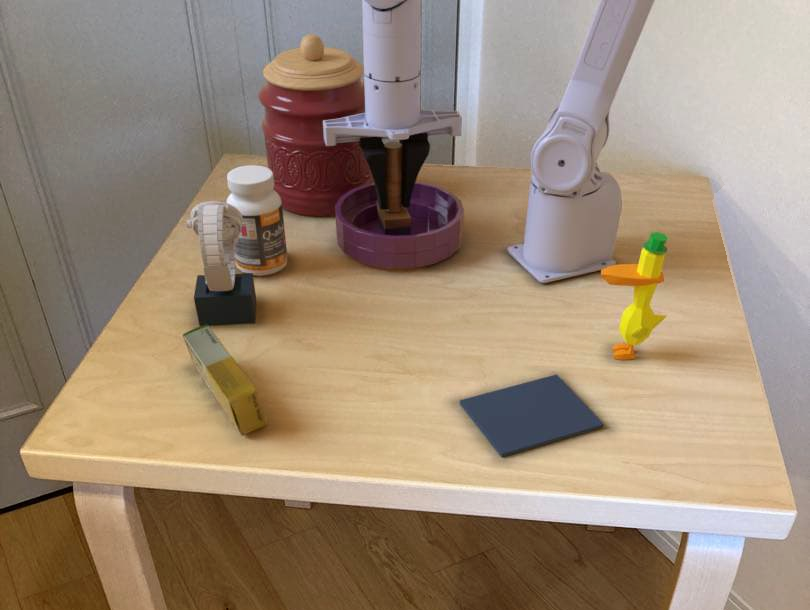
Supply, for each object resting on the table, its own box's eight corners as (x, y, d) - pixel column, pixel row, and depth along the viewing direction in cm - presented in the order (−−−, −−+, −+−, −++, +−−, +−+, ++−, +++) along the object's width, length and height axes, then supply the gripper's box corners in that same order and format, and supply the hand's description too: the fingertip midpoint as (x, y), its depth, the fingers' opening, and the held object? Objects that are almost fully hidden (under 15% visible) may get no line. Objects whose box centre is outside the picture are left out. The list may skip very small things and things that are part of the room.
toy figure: (588, 363, 79) (611, 243, 71) (584, 342, 82) (606, 223, 73) (659, 366, 79) (691, 246, 70) (654, 344, 81) (684, 226, 73)
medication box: (192, 368, 79) (180, 332, 76) (219, 358, 79) (208, 321, 76) (240, 437, 71) (228, 400, 68) (269, 425, 72) (258, 387, 69)
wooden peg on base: (402, 219, 98) (402, 135, 91) (410, 239, 95) (411, 153, 88) (377, 221, 98) (375, 137, 91) (384, 241, 94) (383, 155, 88)
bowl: (429, 205, 102) (430, 172, 99) (482, 257, 93) (485, 223, 90) (320, 226, 98) (317, 192, 95) (364, 283, 89) (363, 248, 86)
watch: (257, 290, 88) (242, 187, 80) (254, 332, 83) (238, 225, 75) (203, 293, 88) (183, 189, 80) (197, 335, 82) (175, 228, 74)
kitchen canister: (248, 200, 103) (226, 39, 90) (314, 164, 110) (303, 10, 98) (331, 228, 98) (320, 62, 85) (395, 189, 105) (394, 30, 92)
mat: (556, 377, 78) (556, 373, 77) (603, 427, 73) (604, 424, 72) (459, 403, 75) (459, 400, 75) (501, 457, 70) (501, 453, 70)
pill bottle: (279, 280, 90) (268, 188, 82) (228, 275, 90) (213, 183, 83) (294, 255, 94) (285, 165, 86) (245, 250, 94) (232, 160, 87)
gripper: (326, 91, 81) (334, 226, 90) (472, 81, 83) (464, 214, 92) (316, 67, 85) (325, 198, 95) (455, 58, 87) (449, 187, 97)
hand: (393, 204), depth 94 cm, fingers closed on wooden peg on base, 2 cm apart
